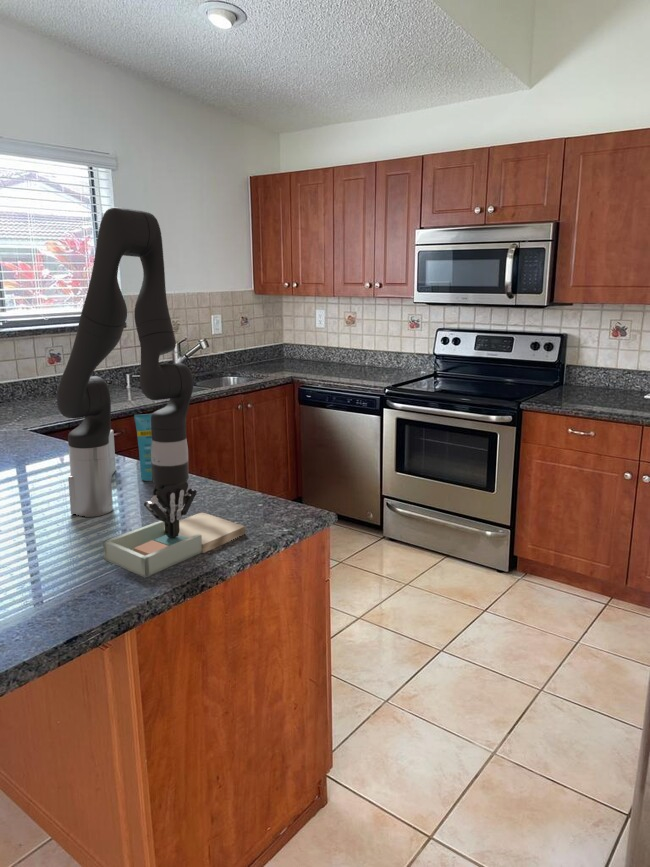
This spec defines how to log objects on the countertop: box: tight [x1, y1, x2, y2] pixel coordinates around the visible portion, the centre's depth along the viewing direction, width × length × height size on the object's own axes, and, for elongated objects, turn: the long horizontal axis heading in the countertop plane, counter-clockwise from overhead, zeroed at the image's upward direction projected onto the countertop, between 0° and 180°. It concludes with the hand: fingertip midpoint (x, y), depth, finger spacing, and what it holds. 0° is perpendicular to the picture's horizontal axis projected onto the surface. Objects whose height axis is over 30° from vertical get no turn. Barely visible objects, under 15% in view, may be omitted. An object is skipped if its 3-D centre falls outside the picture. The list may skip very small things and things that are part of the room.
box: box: [102, 520, 203, 578], centre depth 135 cm, size 15×13×4 cm
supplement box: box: [109, 429, 117, 477], centre depth 186 cm, size 7×7×13 cm
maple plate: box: [164, 512, 246, 554], centre depth 146 cm, size 13×14×2 cm
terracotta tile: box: [134, 540, 168, 556], centre depth 134 cm, size 5×5×2 cm
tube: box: [133, 413, 153, 482], centre depth 182 cm, size 7×5×19 cm, turn 123°
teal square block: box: [154, 535, 187, 546], centre depth 138 cm, size 5×5×2 cm
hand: (172, 536), depth 138 cm, fingers closed
